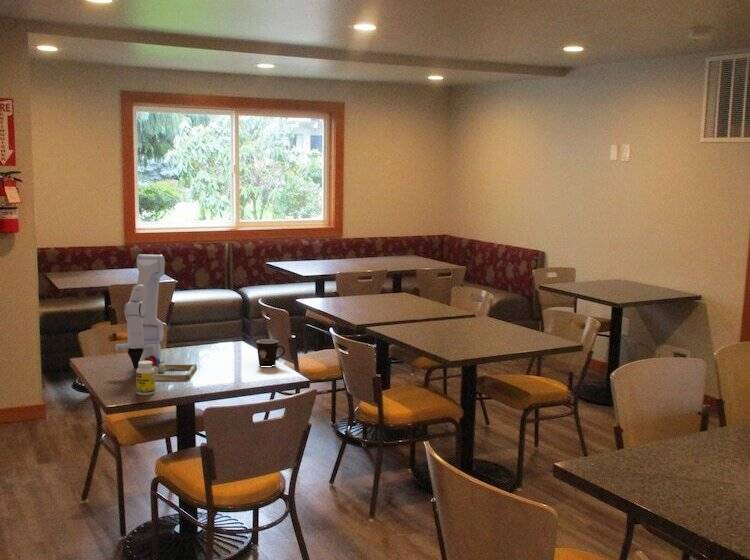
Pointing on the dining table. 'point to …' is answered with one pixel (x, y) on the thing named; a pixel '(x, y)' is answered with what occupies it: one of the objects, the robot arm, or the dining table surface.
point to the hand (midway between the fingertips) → (136, 368)
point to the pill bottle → (145, 378)
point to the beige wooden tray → (187, 376)
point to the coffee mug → (268, 352)
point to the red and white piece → (155, 364)
